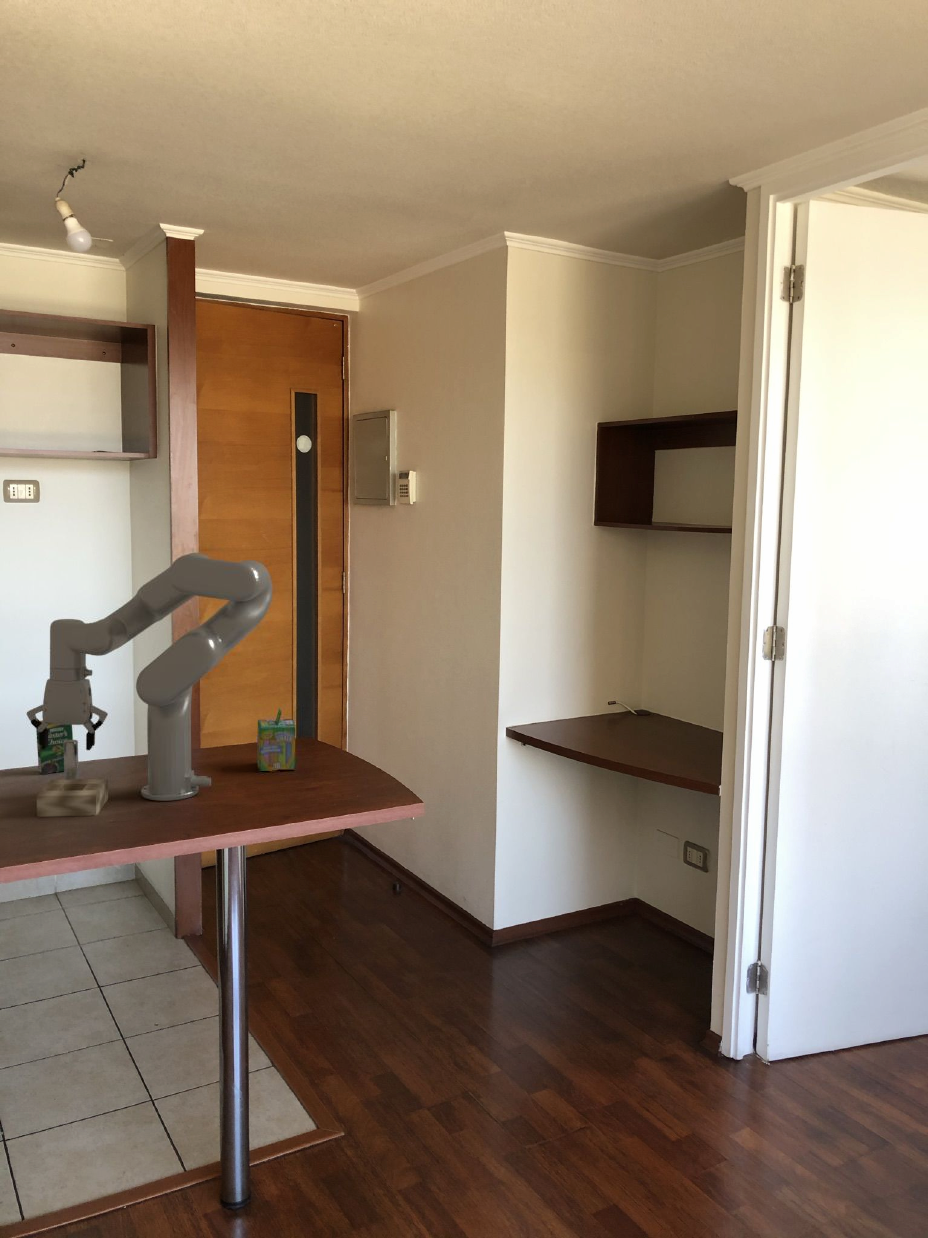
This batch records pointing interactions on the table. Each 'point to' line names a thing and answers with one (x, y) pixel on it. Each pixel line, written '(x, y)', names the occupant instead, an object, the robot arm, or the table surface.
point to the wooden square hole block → (72, 797)
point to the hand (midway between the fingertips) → (67, 748)
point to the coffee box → (53, 748)
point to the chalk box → (276, 744)
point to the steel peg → (71, 760)
